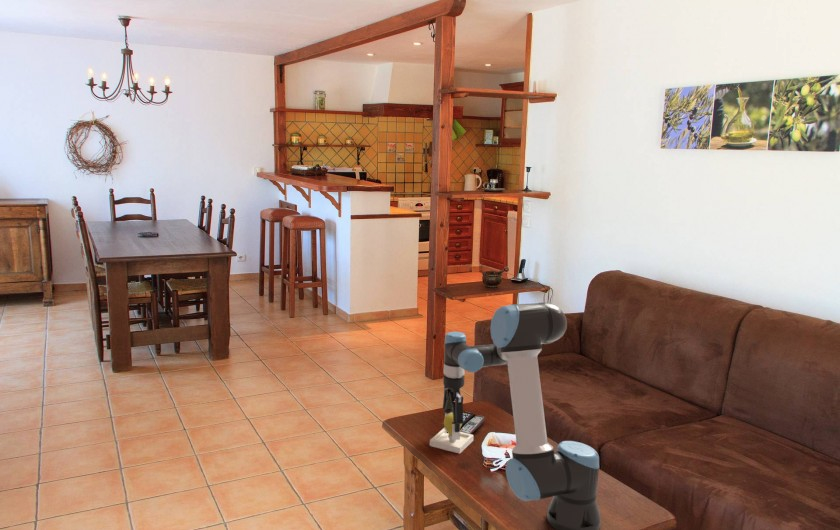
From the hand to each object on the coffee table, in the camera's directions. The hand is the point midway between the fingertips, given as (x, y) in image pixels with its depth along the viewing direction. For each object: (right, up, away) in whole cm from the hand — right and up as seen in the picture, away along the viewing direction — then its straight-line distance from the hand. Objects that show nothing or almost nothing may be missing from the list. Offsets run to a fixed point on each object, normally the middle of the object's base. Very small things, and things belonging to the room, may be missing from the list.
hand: (451, 434), depth 232 cm
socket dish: (0, -3, +1) cm, 3 cm away
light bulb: (0, -2, 0) cm, 2 cm away
